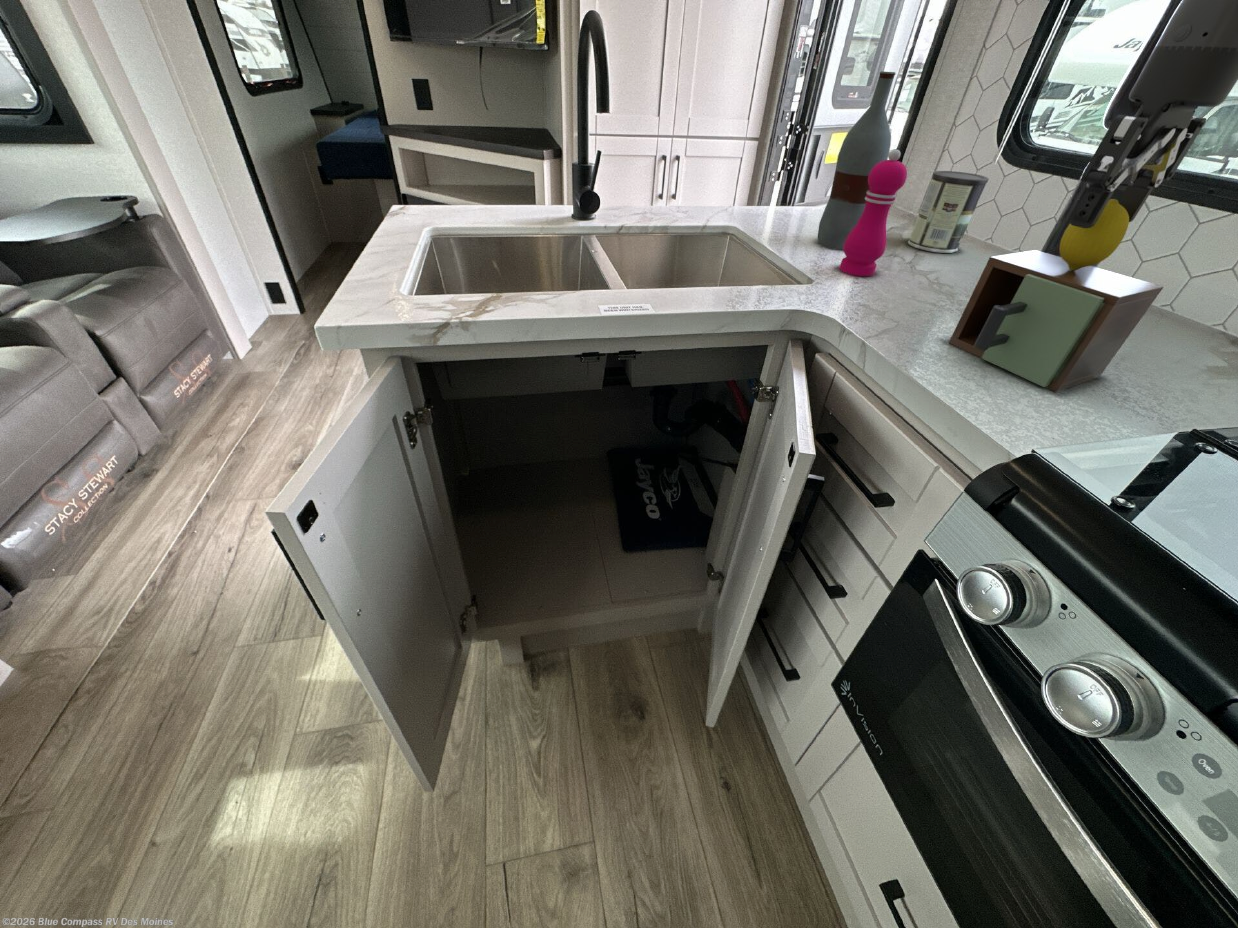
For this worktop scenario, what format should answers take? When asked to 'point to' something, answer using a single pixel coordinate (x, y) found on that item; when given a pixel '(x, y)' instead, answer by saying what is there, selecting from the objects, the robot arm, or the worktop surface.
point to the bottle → (856, 168)
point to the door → (1037, 328)
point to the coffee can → (946, 211)
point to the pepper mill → (874, 218)
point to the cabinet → (1120, 291)
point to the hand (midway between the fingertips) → (1100, 224)
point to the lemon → (1095, 238)
